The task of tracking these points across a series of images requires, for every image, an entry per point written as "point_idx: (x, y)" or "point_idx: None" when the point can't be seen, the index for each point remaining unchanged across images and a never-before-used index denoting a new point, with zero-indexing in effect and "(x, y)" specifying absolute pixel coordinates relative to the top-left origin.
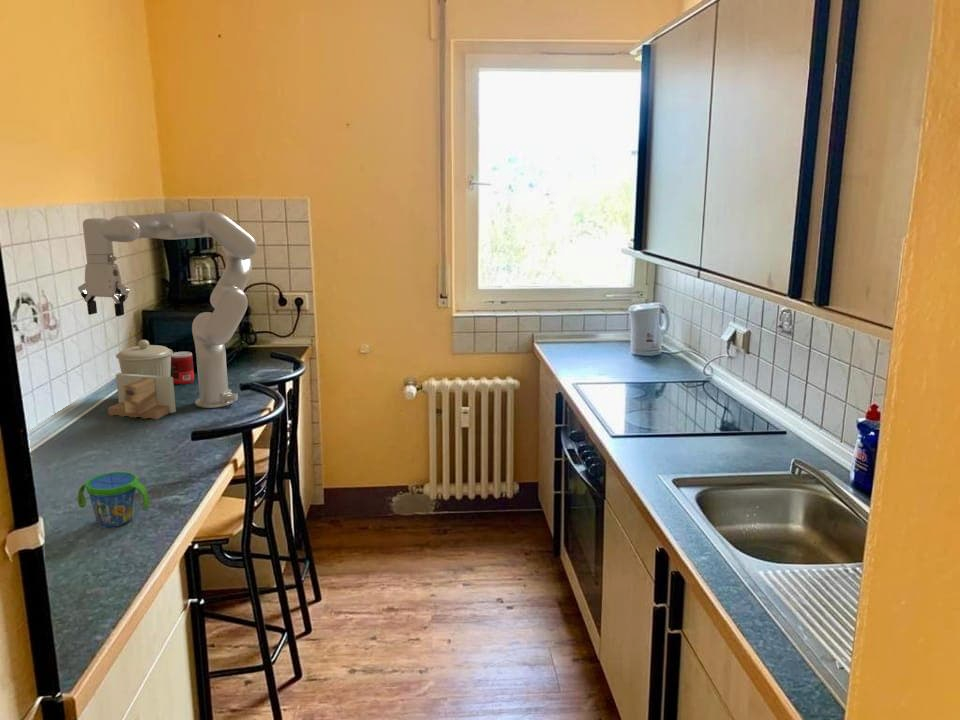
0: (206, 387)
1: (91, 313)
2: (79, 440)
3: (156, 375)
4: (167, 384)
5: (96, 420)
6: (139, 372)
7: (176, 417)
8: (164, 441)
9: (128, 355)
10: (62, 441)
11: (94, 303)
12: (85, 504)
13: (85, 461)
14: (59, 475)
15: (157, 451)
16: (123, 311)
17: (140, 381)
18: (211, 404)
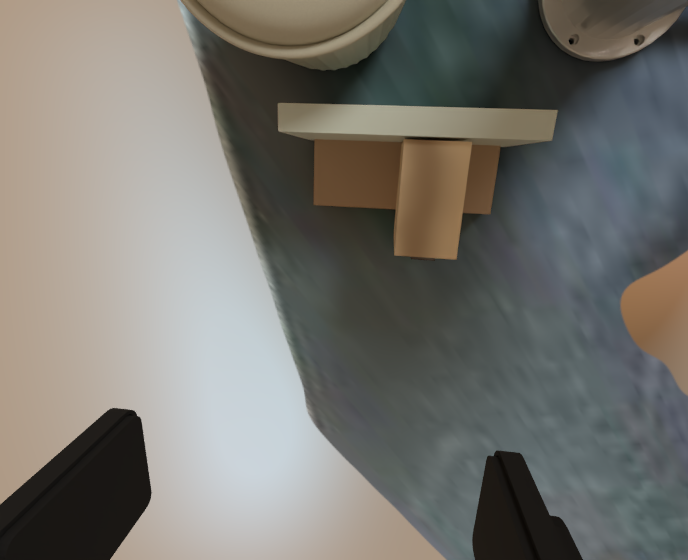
0: (652, 15)
1: (146, 494)
2: (374, 386)
3: (402, 3)
4: (530, 141)
5: (315, 251)
6: (344, 49)
7: (535, 180)
8: (590, 367)
9: (275, 26)
10: (341, 396)
11: (45, 544)
12: None
13: (468, 486)
14: (461, 543)
15: (602, 426)
16: (560, 531)
17: (432, 189)
18: (629, 46)
